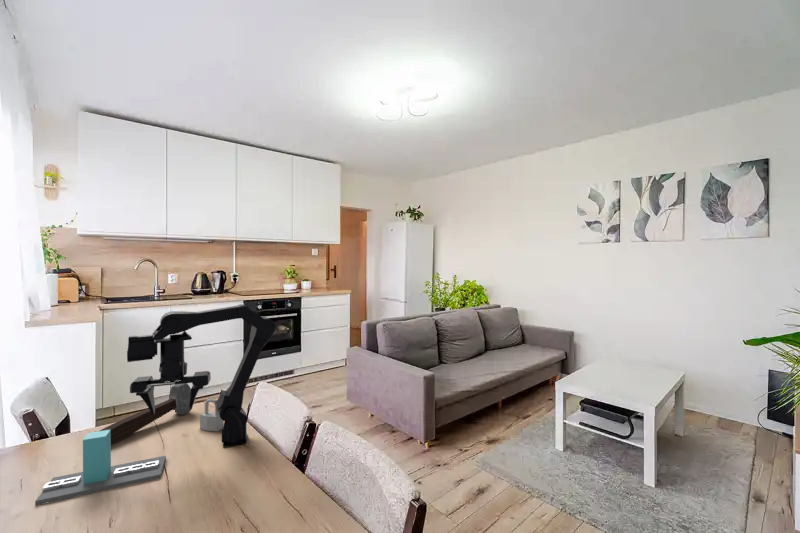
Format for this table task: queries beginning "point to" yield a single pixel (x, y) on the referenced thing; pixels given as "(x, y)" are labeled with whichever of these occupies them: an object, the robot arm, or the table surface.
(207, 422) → the padlock
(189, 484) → the table surface
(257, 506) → the table surface
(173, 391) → the hammer
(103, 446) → the teal block
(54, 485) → the steel chain
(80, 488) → the rubber mat
